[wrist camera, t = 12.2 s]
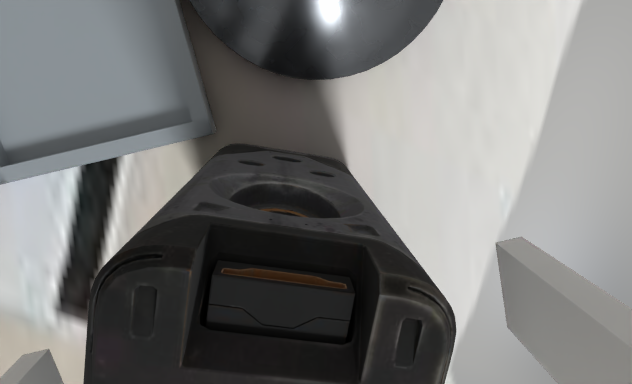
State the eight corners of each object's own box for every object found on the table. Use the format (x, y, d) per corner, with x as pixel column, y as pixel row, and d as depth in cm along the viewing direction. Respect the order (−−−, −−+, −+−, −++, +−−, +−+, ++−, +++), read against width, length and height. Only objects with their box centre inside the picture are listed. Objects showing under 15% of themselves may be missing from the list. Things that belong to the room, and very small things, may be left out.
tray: (6, 181, 29) (-9, 186, 28) (-104, -88, 25) (-129, -99, 24) (216, 131, 29) (212, 134, 28) (138, -144, 26) (129, -158, 24)
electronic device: (354, 160, 31) (477, 291, 11) (339, 243, 32) (424, 489, 12) (216, 138, 30) (84, 240, 10) (205, 224, 31) (71, 460, 11)
